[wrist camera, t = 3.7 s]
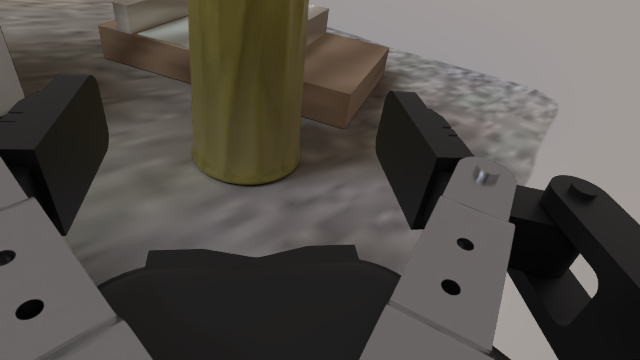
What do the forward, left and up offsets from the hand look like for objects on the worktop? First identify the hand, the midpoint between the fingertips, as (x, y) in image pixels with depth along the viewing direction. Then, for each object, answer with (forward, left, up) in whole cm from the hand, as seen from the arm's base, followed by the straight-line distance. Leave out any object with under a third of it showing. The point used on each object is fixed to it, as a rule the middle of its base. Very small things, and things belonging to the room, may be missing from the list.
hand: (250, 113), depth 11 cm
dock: (-10, +19, -7) cm, 23 cm away
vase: (-4, +8, -8) cm, 12 cm away
